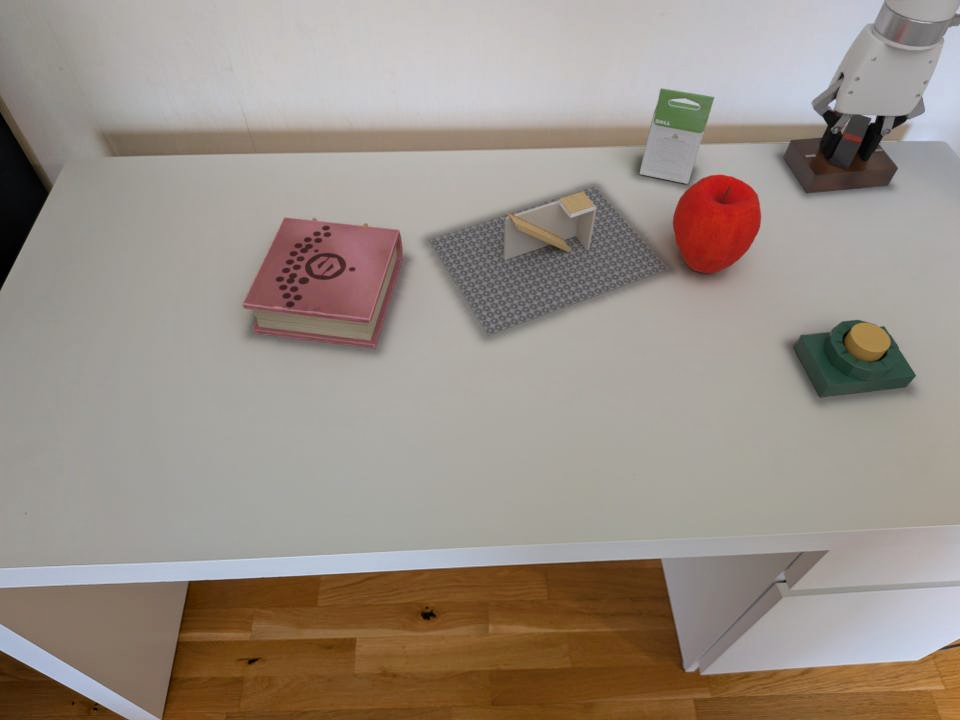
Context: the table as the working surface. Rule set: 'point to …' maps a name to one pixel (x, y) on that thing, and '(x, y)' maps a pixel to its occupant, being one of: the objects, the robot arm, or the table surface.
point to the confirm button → (867, 342)
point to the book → (326, 282)
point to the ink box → (675, 135)
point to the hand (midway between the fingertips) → (844, 152)
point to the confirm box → (850, 364)
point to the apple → (716, 222)
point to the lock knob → (850, 141)
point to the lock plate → (836, 168)
